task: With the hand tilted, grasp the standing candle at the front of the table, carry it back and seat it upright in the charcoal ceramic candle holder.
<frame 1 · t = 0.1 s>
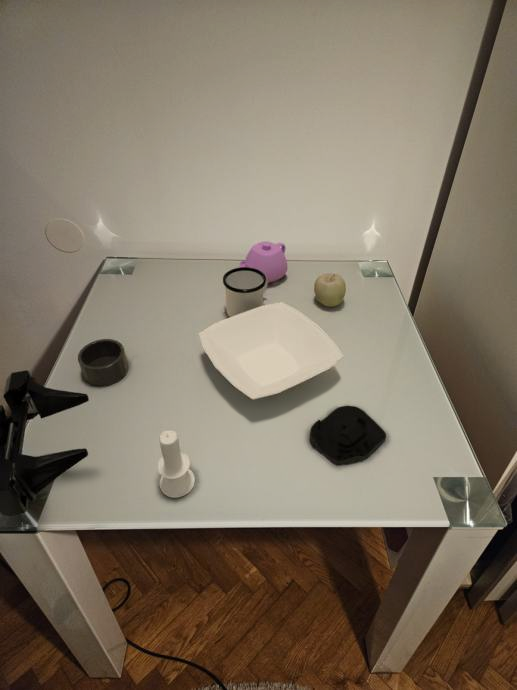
hand: (87, 422, 56), 15 cm above the table, tool horizontal, fingers open, 9 cm apart
black low lumpy piece: (347, 436, 74), on the table
candle: (177, 482, 67), on the table
teapot: (263, 278, 111), on the table
holder: (106, 370, 85), on the table
bowl: (268, 366, 87), on the table
fruit: (328, 302, 103), on the table
mug: (248, 310, 101), on the table
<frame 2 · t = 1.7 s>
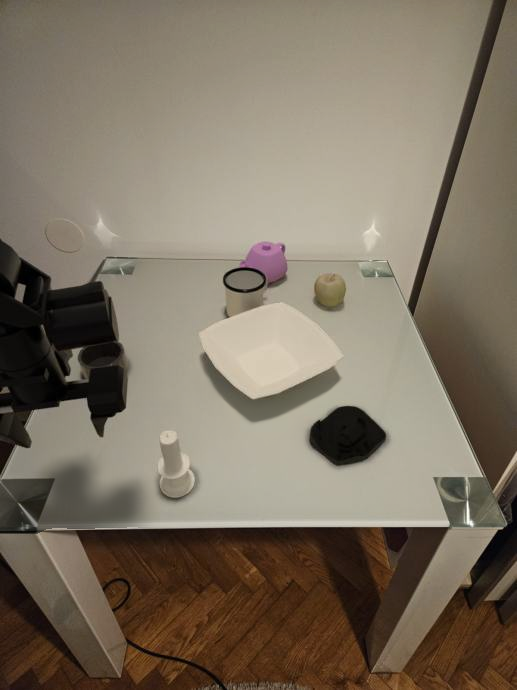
hand: (66, 439, 57), 13 cm above the table, tool pointing down, fingers open, 9 cm apart
nothing on the table moved.
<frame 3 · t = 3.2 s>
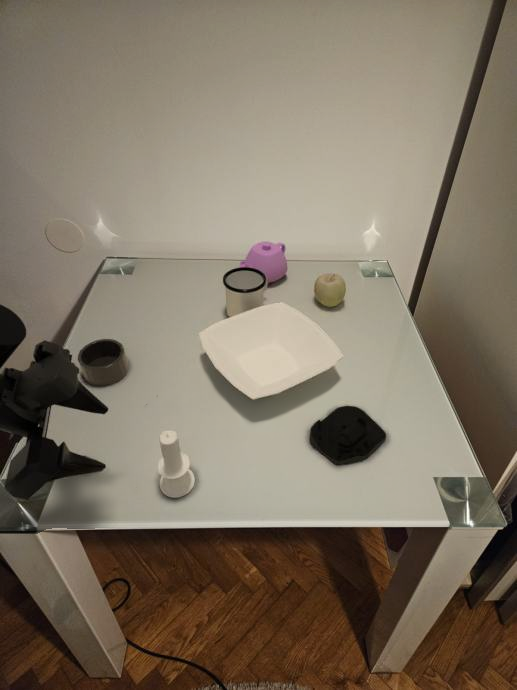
hand: (105, 438, 57), 13 cm above the table, tool tilted 45°, fingers open, 9 cm apart
nothing on the table moved.
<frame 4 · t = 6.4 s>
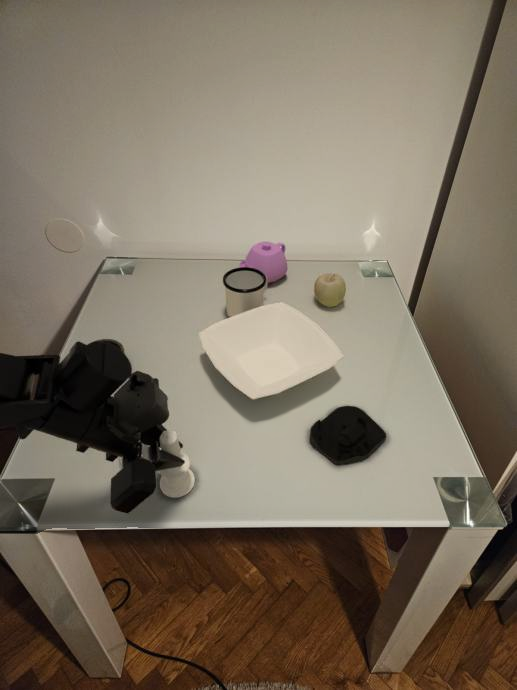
hand: (182, 455, 63), 7 cm above the table, tool tilted 45°, fingers closed on candle, 2 cm apart
candle: (177, 482, 67), on the table, touching gripper
everything else where it was.
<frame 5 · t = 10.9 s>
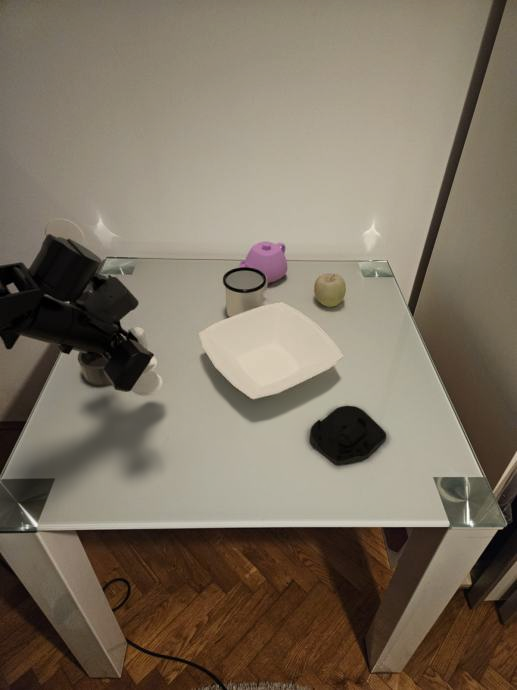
hand: (148, 352, 70), 13 cm above the table, tool tilted 45°, fingers closed on candle, 2 cm apart
candle: (147, 385, 73), point 6 cm above the table, touching gripper
everything else where it was.
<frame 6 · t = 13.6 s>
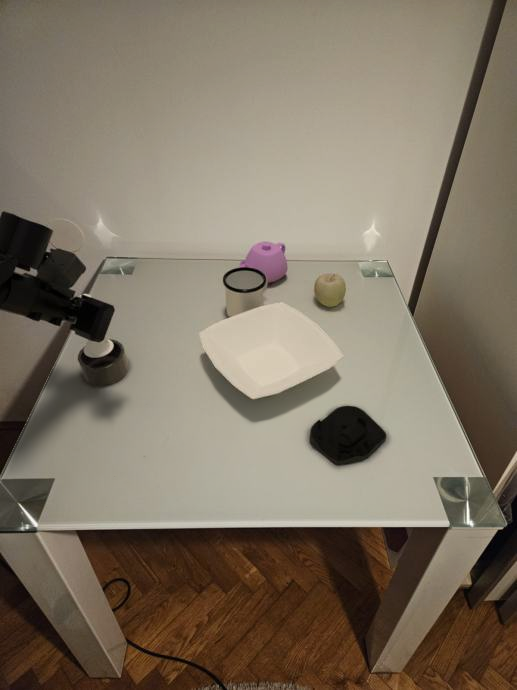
hand: (95, 316, 77), 12 cm above the table, tool tilted 45°, fingers closed on candle, 2 cm apart
candle: (99, 349, 81), point 6 cm above the table, touching gripper
everything else where it was.
when the fingers open (7 cm above the table, at t = 15.3 s): candle stays where it is, resting on holder.
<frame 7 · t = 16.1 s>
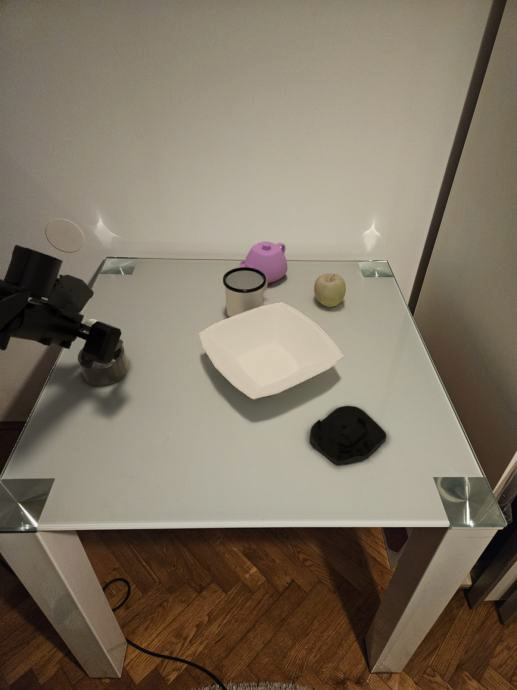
hand: (102, 336, 81), 8 cm above the table, tool tilted 45°, fingers open, 9 cm apart
candle: (105, 369, 85), resting on holder
everything else where it was.
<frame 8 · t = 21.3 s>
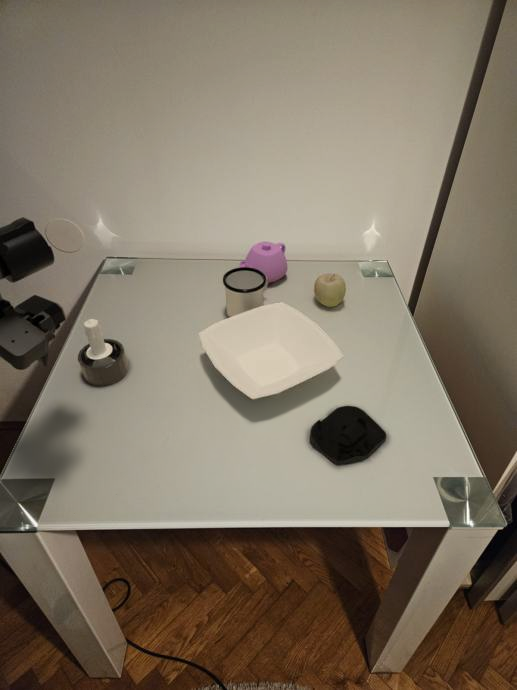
hand: (19, 385, 64), 13 cm above the table, tool pointing down, fingers open, 9 cm apart
nothing on the table moved.
at the end: candle 0.2 cm off-centre in the holder, point 0.4 cm above the holder's base; candle tilted 0°; the gripper is holding nothing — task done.
